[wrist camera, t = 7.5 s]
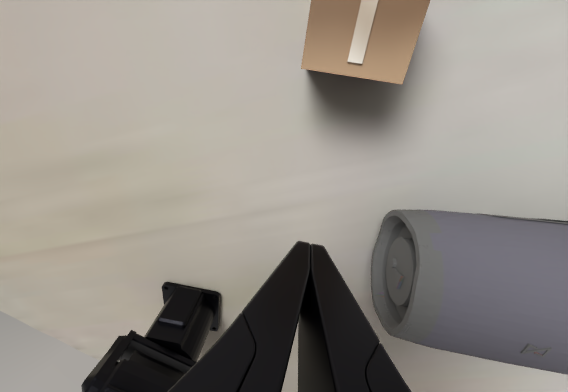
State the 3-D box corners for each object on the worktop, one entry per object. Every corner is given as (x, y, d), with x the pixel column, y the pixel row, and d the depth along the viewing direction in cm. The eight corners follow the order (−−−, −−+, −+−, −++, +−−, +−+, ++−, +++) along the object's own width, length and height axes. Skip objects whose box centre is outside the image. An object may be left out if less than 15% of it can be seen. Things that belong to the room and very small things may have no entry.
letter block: (380, 78, 17) (403, 84, 12) (305, 66, 17) (300, 68, 12) (408, -19, 14) (449, -55, 10) (320, -31, 15) (321, -72, 10)
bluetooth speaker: (361, 265, 24) (385, 380, 16) (388, 176, 20) (443, 267, 11) (618, 301, 23) (805, 452, 14) (709, 214, 18) (1068, 355, 10)
